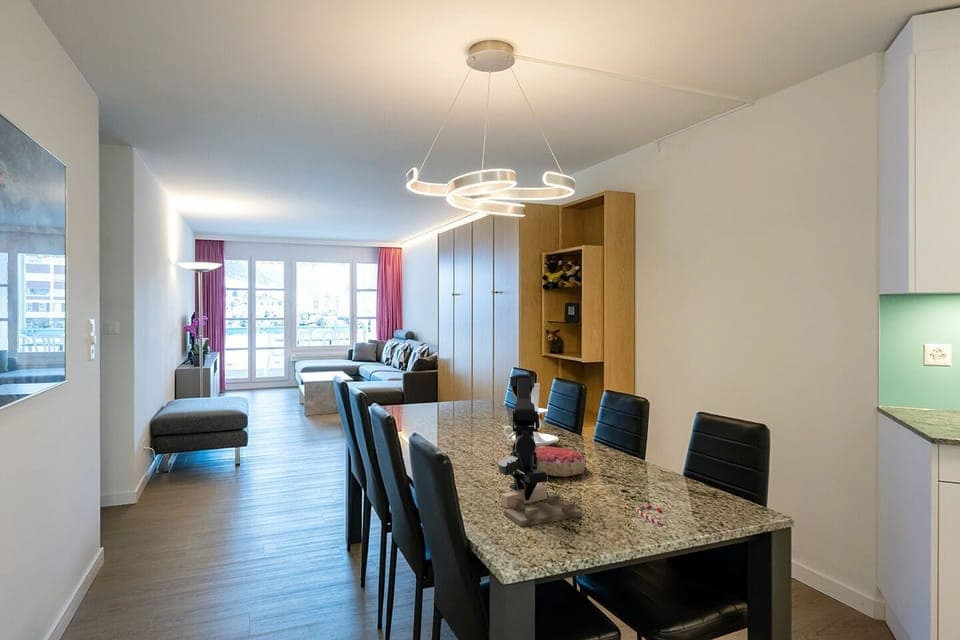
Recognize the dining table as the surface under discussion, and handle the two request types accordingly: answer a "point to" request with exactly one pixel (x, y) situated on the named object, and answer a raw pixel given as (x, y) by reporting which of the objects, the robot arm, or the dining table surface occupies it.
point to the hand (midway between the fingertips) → (524, 498)
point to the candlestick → (538, 437)
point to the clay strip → (523, 496)
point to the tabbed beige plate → (542, 511)
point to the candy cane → (648, 516)
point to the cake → (559, 461)
